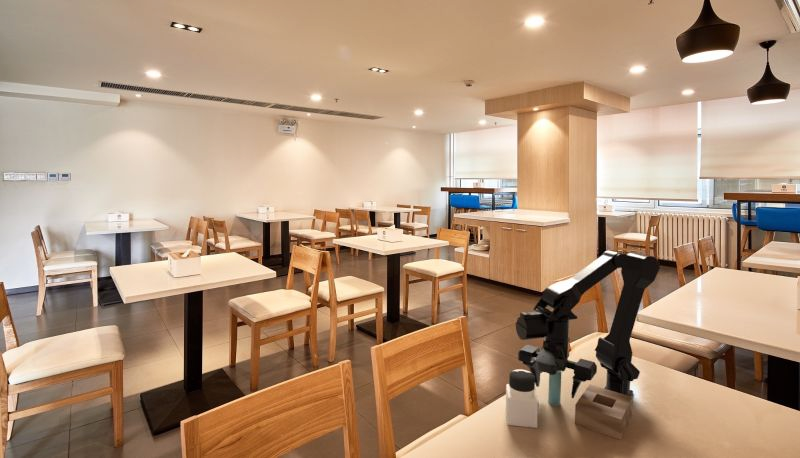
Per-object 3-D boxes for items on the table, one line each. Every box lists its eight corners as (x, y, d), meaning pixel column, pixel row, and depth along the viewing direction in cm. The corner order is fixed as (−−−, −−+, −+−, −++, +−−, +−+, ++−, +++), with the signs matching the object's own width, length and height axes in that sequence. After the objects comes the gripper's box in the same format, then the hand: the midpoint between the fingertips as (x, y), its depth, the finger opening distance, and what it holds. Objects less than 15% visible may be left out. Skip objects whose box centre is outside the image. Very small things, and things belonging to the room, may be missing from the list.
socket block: (588, 401, 108) (589, 384, 107) (631, 415, 101) (632, 396, 101) (574, 423, 99) (575, 404, 98) (620, 439, 92) (621, 419, 92)
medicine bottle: (538, 428, 97) (539, 381, 95) (507, 425, 98) (508, 379, 97) (534, 411, 104) (535, 367, 102) (505, 409, 105) (506, 365, 104)
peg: (550, 398, 110) (551, 367, 109) (561, 402, 108) (563, 370, 107) (546, 403, 107) (547, 371, 106) (558, 407, 106) (559, 374, 104)
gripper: (509, 336, 105) (508, 393, 107) (585, 356, 93) (582, 419, 95) (526, 324, 113) (525, 376, 116) (598, 340, 102) (595, 398, 104)
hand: (554, 391), depth 107 cm, fingers open, 9 cm apart
